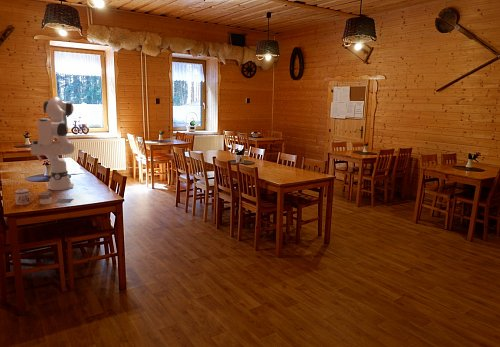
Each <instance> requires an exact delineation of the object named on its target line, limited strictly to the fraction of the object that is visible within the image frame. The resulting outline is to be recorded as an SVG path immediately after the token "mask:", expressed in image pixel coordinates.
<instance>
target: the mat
mask: <svg viewBox="0 0 500 347" xmlns="http://www.w3.org/2000/svg"><path fill="white" fill-rule="evenodd" d="M73 201H74V198H59V199H57V200H56V201H55V204H71V203H72V202H73Z"/></svg>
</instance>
